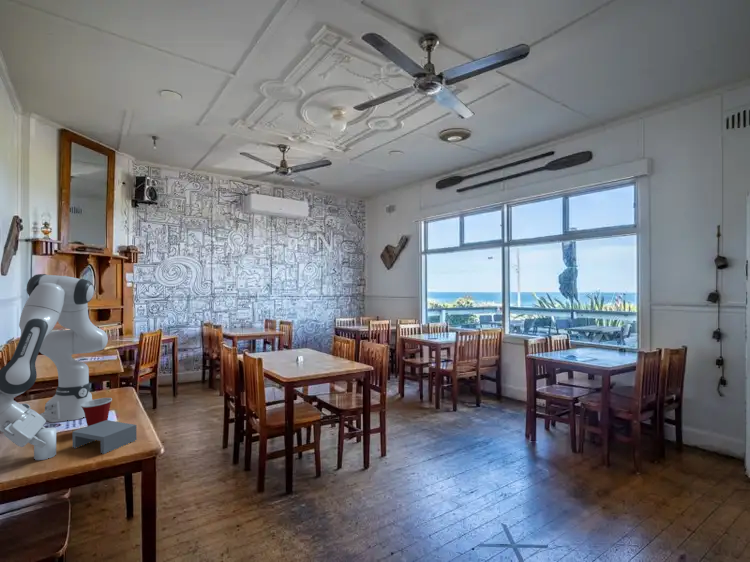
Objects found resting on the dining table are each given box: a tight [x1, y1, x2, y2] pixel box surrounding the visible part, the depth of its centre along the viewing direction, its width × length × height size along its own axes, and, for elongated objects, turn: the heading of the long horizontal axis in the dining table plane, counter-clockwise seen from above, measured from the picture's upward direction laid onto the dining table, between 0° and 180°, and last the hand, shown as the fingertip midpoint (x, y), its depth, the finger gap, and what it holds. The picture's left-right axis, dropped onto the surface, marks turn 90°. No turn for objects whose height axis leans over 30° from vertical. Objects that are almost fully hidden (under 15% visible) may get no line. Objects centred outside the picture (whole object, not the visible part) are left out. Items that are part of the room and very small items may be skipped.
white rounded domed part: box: [33, 427, 57, 461], centre depth 143 cm, size 6×6×9 cm
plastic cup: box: [81, 397, 113, 426], centre depth 169 cm, size 11×11×12 cm
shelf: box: [72, 420, 137, 455], centre depth 154 cm, size 16×13×6 cm
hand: (47, 441), depth 144 cm, fingers open, 7 cm apart
